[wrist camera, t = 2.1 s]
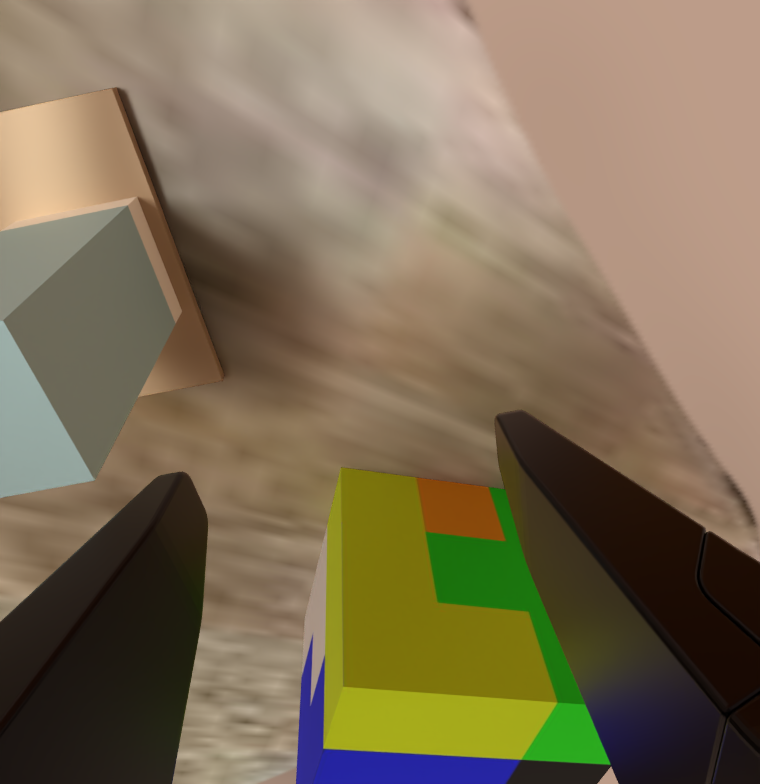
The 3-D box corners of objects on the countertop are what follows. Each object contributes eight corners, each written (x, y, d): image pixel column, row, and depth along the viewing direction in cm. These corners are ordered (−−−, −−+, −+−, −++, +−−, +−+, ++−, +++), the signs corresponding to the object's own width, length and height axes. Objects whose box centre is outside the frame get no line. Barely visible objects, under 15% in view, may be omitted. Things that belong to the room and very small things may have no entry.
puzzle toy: (304, 617, 31) (292, 844, 22) (340, 466, 26) (343, 686, 17) (489, 634, 33) (542, 851, 24) (557, 495, 27) (655, 710, 19)
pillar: (181, 311, 21) (94, 480, 13) (71, 333, 21) (-77, 511, 14) (137, 196, 19) (3, 320, 11) (15, 221, 19) (-199, 360, 11)
